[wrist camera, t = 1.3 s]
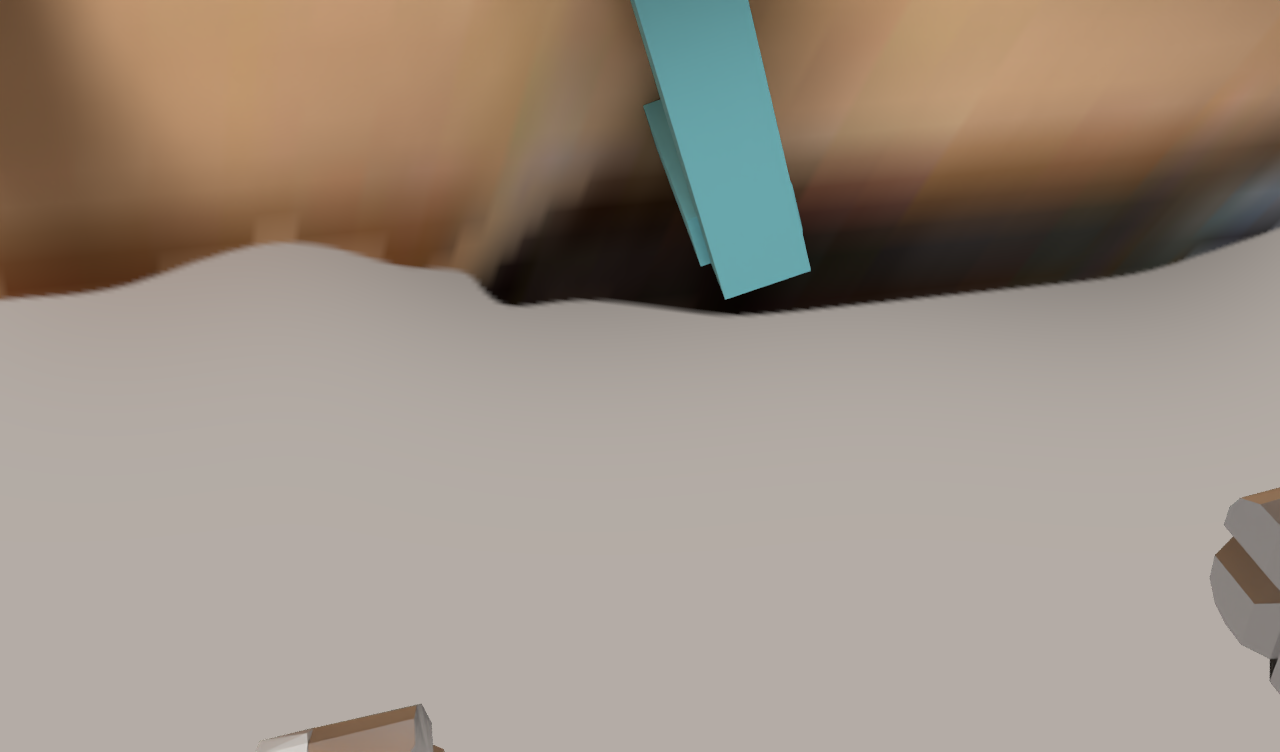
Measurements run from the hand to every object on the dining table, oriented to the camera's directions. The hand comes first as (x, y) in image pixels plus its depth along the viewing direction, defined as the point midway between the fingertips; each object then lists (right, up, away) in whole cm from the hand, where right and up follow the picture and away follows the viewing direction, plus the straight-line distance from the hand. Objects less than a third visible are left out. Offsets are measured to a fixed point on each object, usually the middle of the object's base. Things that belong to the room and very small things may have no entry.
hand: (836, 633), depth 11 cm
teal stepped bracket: (-2, +15, +22) cm, 26 cm away
